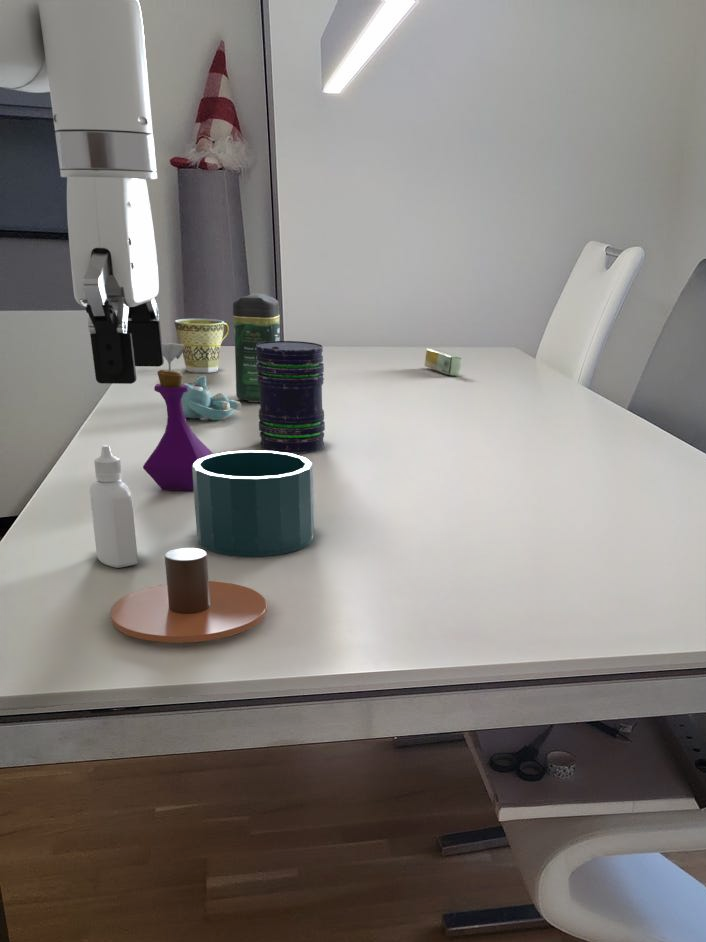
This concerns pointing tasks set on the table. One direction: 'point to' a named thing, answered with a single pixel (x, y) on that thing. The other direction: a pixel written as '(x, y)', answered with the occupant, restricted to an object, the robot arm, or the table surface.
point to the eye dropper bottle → (112, 513)
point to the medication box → (443, 362)
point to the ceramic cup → (201, 343)
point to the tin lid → (188, 604)
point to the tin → (253, 502)
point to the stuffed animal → (206, 402)
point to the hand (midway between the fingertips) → (132, 373)
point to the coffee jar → (252, 339)
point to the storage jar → (290, 396)
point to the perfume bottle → (174, 433)
